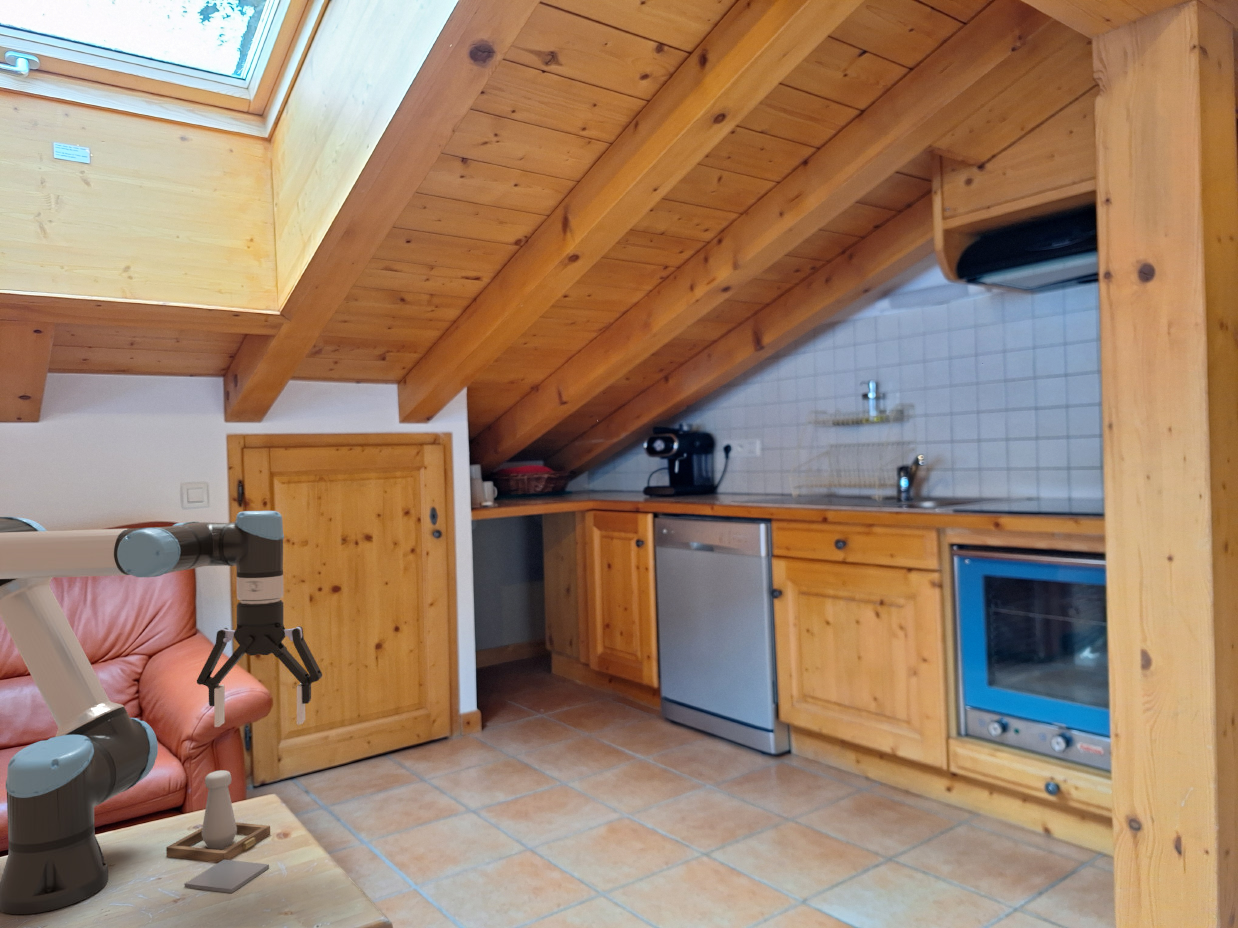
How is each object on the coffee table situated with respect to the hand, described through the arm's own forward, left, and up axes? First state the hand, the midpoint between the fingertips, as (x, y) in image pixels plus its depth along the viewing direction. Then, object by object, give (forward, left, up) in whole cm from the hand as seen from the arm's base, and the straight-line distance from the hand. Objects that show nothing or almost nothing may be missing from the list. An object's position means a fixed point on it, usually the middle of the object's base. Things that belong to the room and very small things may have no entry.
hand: (260, 723), depth 152 cm
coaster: (-1, -8, -23) cm, 24 cm away
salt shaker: (-12, +3, -23) cm, 26 cm away
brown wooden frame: (-12, +3, -23) cm, 26 cm away
